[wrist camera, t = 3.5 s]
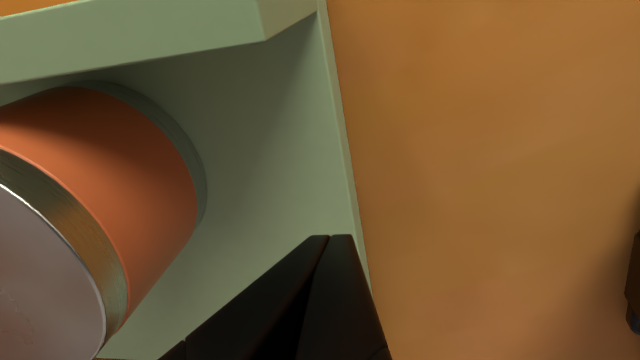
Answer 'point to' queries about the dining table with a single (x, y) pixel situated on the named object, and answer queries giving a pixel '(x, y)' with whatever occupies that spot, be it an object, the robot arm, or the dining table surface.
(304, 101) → the green corner tray
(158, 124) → the tin can
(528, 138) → the dining table surface
